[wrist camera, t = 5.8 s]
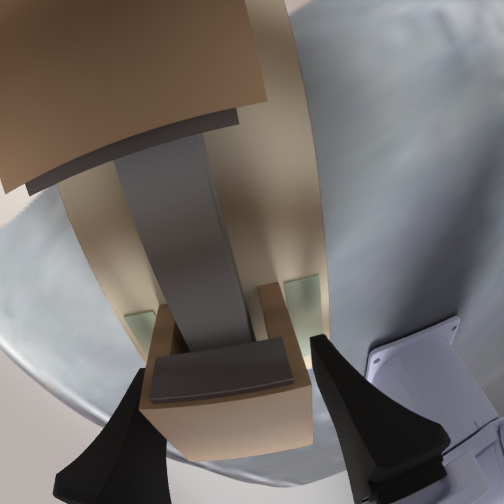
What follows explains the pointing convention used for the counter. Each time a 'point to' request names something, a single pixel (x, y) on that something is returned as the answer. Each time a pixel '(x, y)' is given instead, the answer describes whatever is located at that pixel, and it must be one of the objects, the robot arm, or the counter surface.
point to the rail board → (246, 187)
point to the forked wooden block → (229, 389)
